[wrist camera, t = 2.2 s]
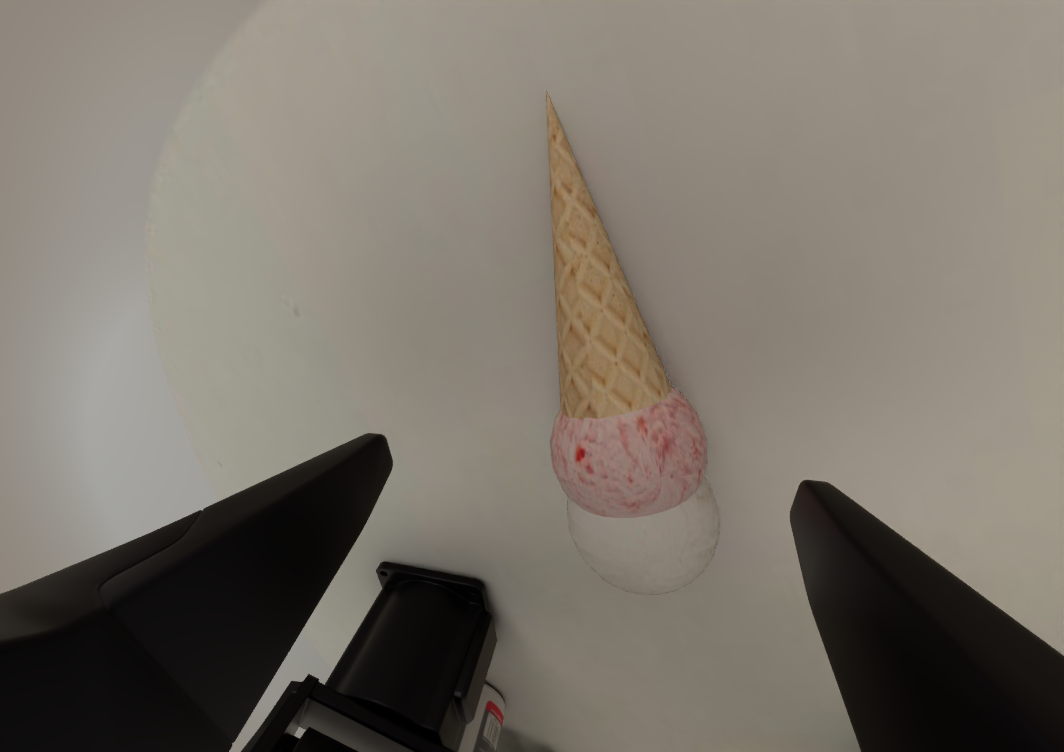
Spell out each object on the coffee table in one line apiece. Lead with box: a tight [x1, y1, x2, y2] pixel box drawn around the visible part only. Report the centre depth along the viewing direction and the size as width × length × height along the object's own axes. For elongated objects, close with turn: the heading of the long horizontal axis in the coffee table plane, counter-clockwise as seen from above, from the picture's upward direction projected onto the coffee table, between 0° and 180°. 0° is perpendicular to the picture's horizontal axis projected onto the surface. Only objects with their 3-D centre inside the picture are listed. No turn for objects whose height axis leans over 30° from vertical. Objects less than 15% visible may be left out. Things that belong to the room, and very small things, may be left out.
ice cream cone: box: [546, 91, 720, 595], centre depth 12 cm, size 5×5×15 cm
